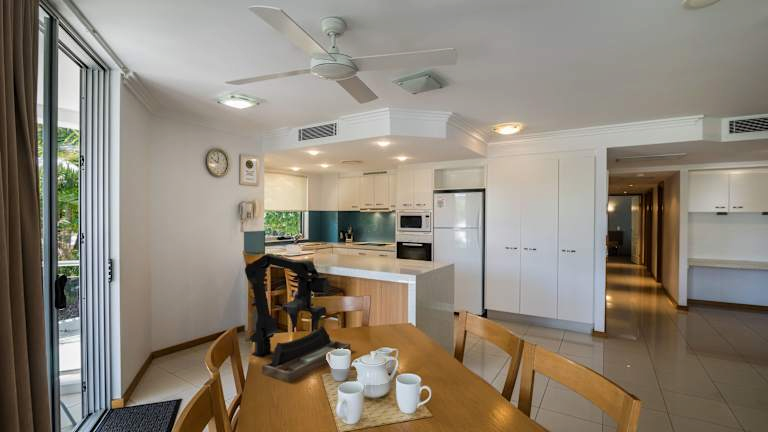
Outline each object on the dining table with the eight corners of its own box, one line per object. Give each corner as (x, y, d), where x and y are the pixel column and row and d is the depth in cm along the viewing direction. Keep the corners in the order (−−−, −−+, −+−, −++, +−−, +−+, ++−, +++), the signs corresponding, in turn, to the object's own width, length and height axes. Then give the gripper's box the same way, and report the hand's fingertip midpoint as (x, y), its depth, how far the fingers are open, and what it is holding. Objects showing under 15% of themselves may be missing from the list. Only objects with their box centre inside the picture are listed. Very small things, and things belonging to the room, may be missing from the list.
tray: (262, 373, 136) (262, 365, 136) (326, 344, 167) (326, 338, 167) (288, 382, 128) (288, 374, 128) (350, 350, 159) (350, 344, 159)
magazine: (270, 351, 134) (324, 311, 158) (264, 349, 136) (319, 310, 160) (280, 390, 138) (332, 346, 162) (275, 388, 140) (326, 344, 164)
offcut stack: (286, 374, 136) (286, 364, 137) (331, 352, 159) (331, 344, 159) (296, 377, 134) (296, 368, 134) (340, 355, 156) (341, 346, 156)
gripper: (273, 292, 145) (272, 331, 145) (310, 298, 137) (309, 339, 137) (291, 287, 155) (290, 324, 155) (327, 293, 147) (326, 331, 147)
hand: (303, 329), depth 148 cm, fingers open, 9 cm apart
